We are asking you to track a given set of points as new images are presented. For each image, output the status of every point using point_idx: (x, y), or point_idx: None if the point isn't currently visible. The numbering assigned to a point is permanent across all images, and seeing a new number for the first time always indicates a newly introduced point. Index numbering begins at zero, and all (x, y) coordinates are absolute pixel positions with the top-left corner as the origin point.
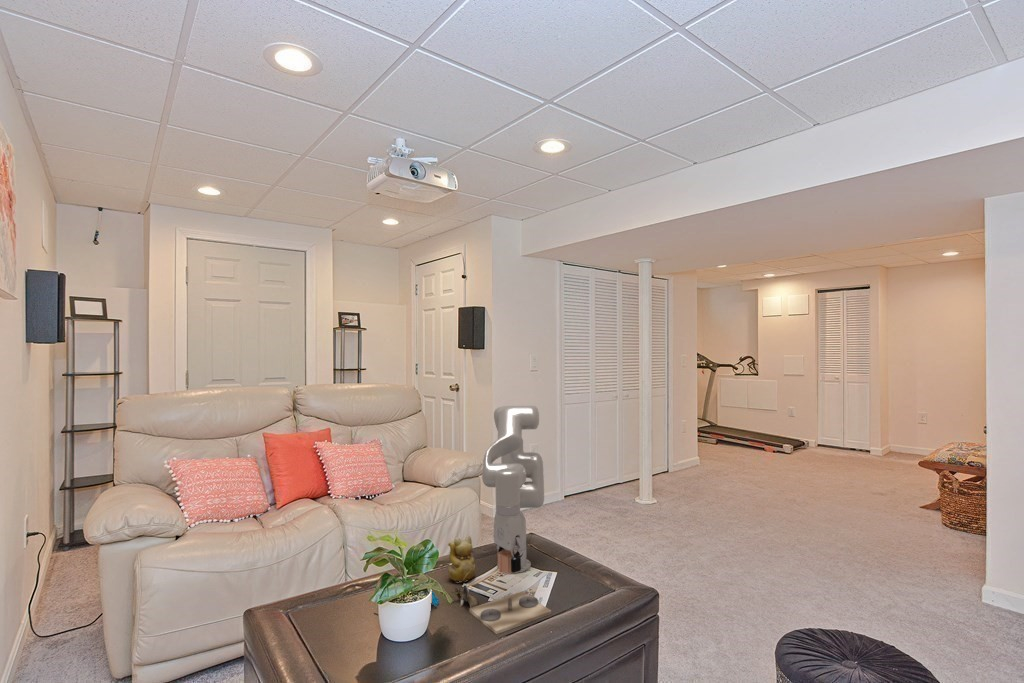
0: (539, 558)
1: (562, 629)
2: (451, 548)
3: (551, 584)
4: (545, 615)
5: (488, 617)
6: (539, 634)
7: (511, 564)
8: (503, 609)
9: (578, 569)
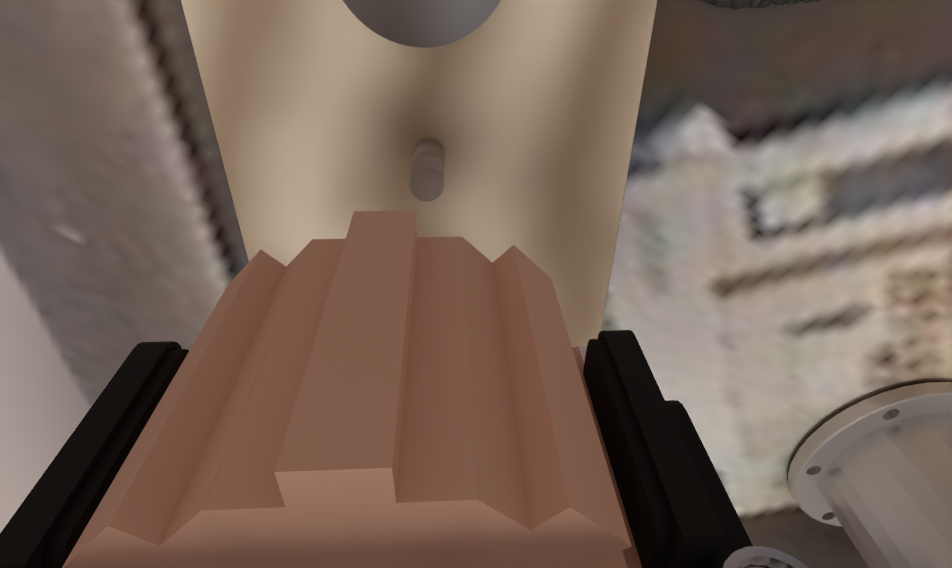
0: (824, 558)
1: (75, 296)
2: None
3: None
4: None
5: None
6: (50, 151)
7: (77, 451)
8: (460, 111)
9: None
